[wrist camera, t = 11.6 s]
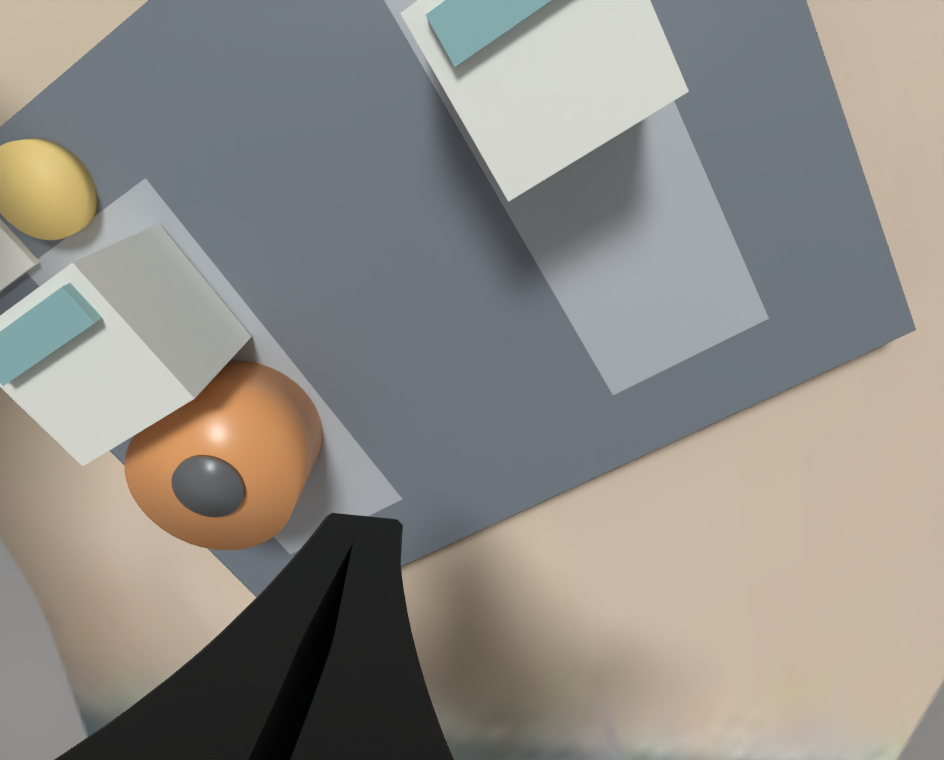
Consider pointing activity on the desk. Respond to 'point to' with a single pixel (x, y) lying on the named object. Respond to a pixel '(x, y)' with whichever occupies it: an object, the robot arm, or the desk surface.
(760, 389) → the breaker panel
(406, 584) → the desk surface
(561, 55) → the block
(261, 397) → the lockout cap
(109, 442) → the block
